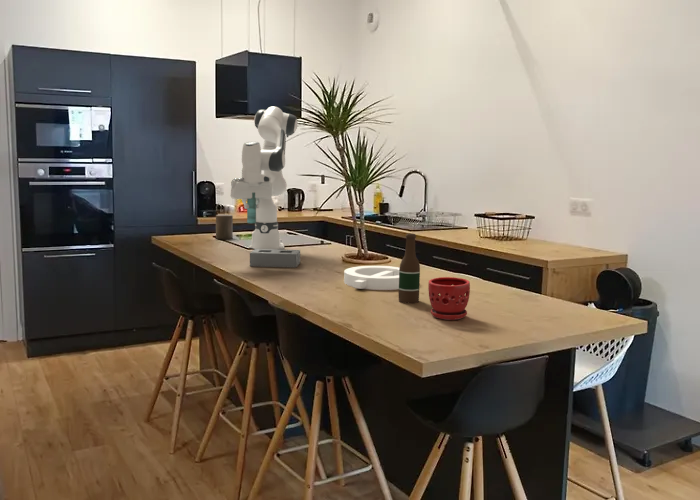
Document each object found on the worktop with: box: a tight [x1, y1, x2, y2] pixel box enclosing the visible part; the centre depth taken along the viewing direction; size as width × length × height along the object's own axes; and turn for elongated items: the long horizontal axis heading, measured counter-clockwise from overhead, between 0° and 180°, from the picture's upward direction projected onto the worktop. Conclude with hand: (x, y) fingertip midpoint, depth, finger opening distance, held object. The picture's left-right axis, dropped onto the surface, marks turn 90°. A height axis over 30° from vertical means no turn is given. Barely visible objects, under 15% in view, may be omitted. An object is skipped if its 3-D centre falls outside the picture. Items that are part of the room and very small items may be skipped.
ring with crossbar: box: [343, 265, 400, 291], centre depth 269 cm, size 28×28×5 cm
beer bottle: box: [398, 232, 421, 304], centre depth 235 cm, size 8×8×24 cm
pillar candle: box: [215, 213, 234, 240], centre depth 389 cm, size 10×10×15 cm
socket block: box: [249, 248, 301, 268], centre depth 306 cm, size 13×21×6 cm, turn 87°
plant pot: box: [427, 276, 471, 321], centre depth 215 cm, size 13×13×12 cm
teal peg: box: [246, 193, 256, 224], centre depth 305 cm, size 4×4×14 cm
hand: (251, 208), depth 305 cm, fingers closed on teal peg, 4 cm apart
